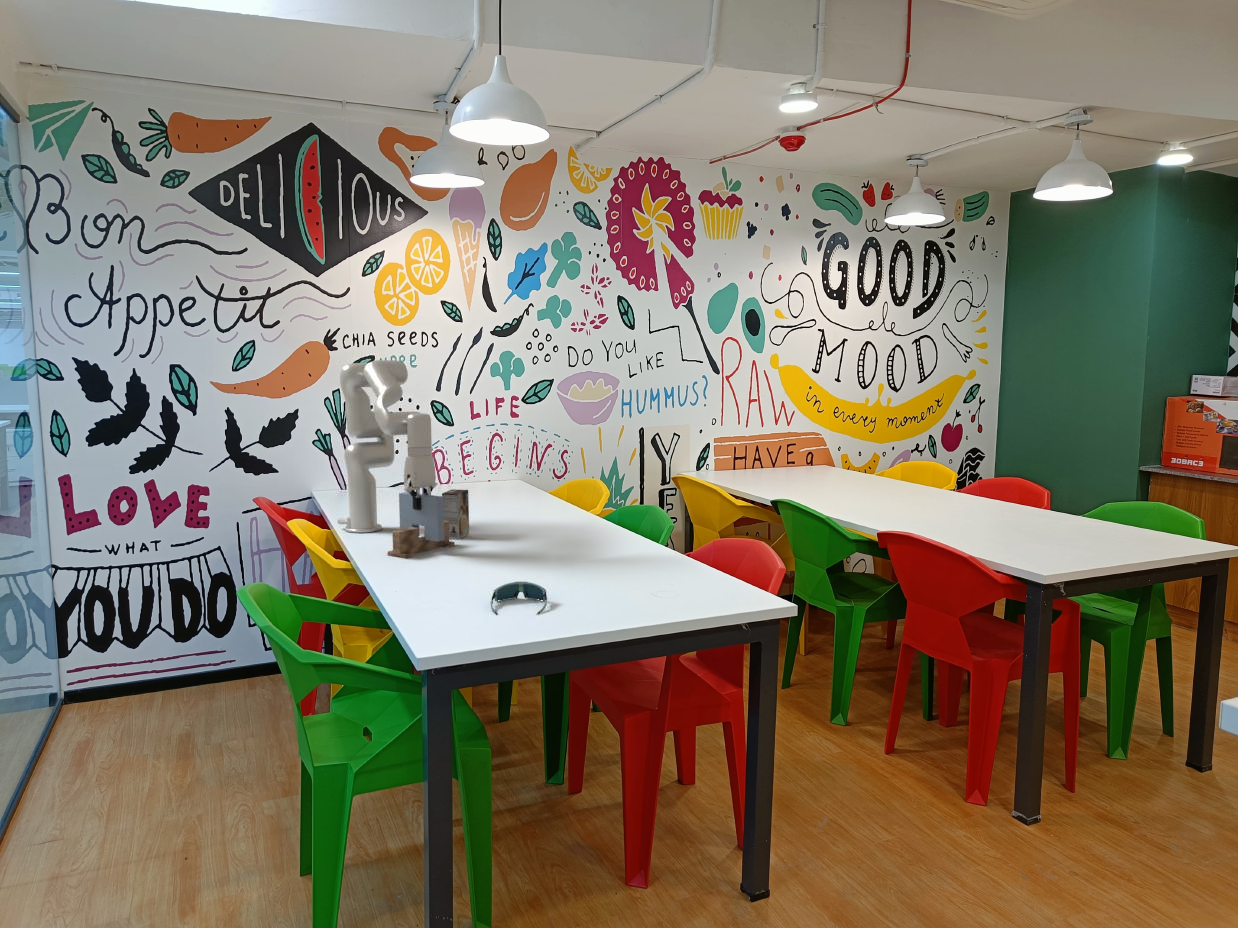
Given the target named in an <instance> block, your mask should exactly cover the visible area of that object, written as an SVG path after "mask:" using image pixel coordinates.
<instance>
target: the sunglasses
mask: <svg viewBox="0 0 1238 928" xmlns="http://www.w3.org/2000/svg"><path fill="white" fill-rule="evenodd" d="M520 593H522V594H523V597H524V598H526V599H528V598H533V599H532V600H536V599H539V600H538V601H540V600H543V601H544V605H543V606H542V608H540V610H538V612H537V613H536V615H537V614H538V613H539V614H541V613H542V612H543V611H544V610H545V609H546V606H547V604H548V603H547V601H548V597H547V590H546V589H545V588H544V587H543V586H541V585H539V584H536V583H534V582H530V581H512V582H509V583H504V584H503V585H500V586H498V587H496V588H495V589H493V593H492V595H491V600H490V602H489V603H490V608H491V611H492V612H493V613H494V614H495V615H496V616H498V612H497V611H496V610H495V609H494V607H493V604H494V601H495V602H496V601H498V600H502V601H504V600H503V599H507V600H509V599H508V598H515V599H518V597H519V595H520ZM543 601H542V602H543ZM540 612H541V613H540ZM539 614H538V615H539Z"/></svg>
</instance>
